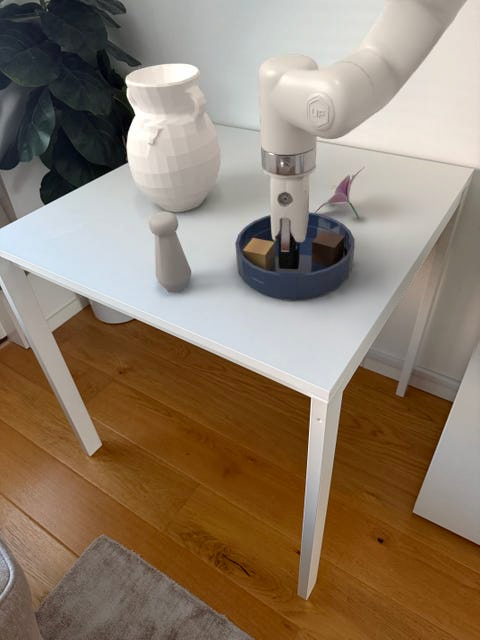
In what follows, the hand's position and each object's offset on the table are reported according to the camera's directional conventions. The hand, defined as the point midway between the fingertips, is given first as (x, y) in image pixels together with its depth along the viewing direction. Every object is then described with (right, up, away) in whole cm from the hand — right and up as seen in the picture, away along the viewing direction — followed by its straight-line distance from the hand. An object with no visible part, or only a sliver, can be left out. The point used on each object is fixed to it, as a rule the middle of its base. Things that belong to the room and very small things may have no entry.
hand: (289, 266), depth 79 cm
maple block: (-5, 0, +3) cm, 5 cm away
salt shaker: (-19, -3, +2) cm, 19 cm away
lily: (+11, +12, +15) cm, 22 cm away
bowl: (+1, 0, +3) cm, 3 cm away
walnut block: (+7, +2, +3) cm, 8 cm away
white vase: (-20, +17, +24) cm, 36 cm away
